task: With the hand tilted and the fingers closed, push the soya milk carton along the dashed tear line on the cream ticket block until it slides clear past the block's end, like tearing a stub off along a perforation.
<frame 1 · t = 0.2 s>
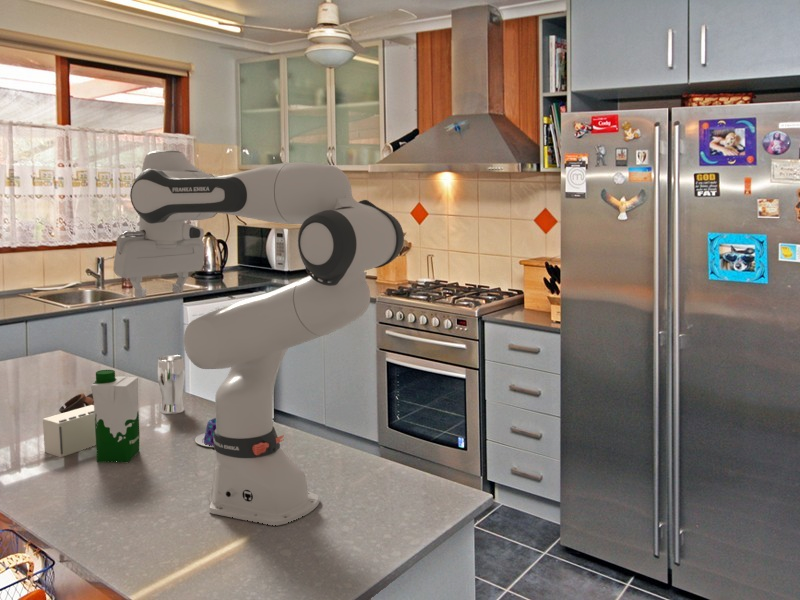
hand: (159, 294, 156), 39 cm above the counter, tool pointing down, fingers open, 8 cm apart
soya milk: (118, 457, 170), on the counter
ticket block: (77, 446, 176), on the counter
pudding: (220, 441, 182), on the counter
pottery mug: (85, 421, 195), on the counter
beer glass: (172, 411, 203), on the counter
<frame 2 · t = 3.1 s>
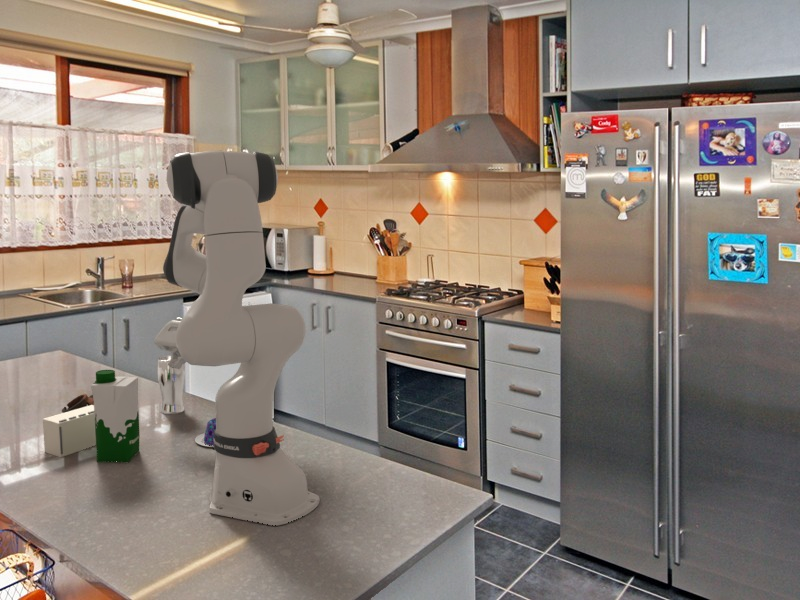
hand: (173, 367, 181), 18 cm above the counter, tool tilted 45°, fingers closed
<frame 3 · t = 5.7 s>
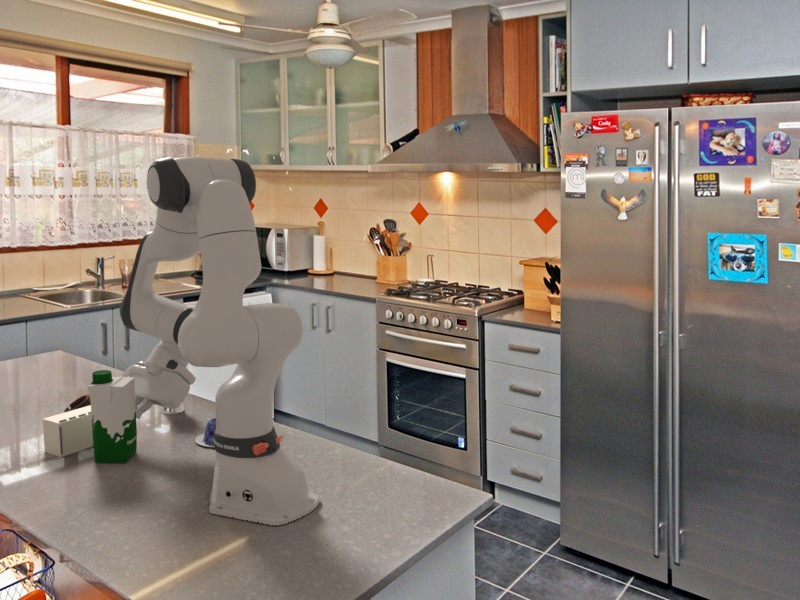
hand: (132, 416, 172), 8 cm above the counter, tool tilted 45°, fingers closed
soya milk: (116, 458, 169), on the counter, touching gripper
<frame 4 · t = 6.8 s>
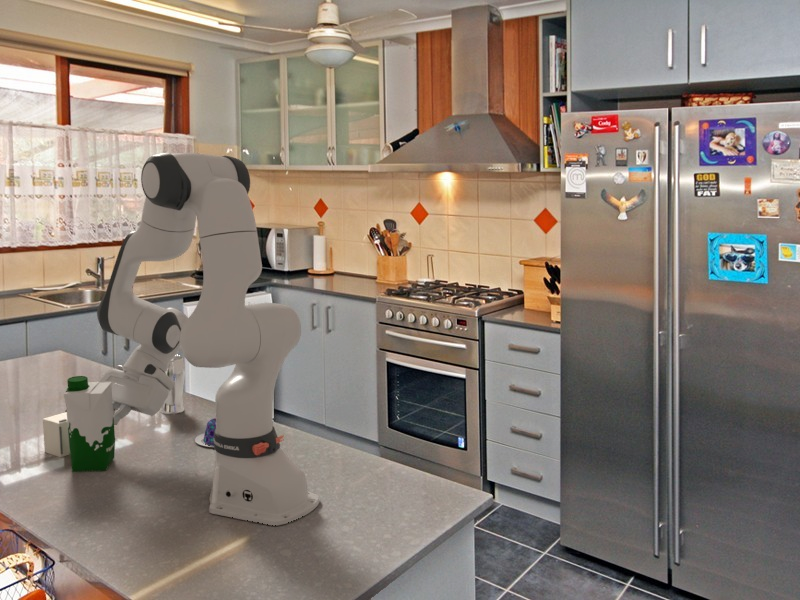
hand: (109, 422, 167), 9 cm above the counter, tool tilted 45°, fingers closed
soya milk: (94, 465, 165), on the counter, touching gripper
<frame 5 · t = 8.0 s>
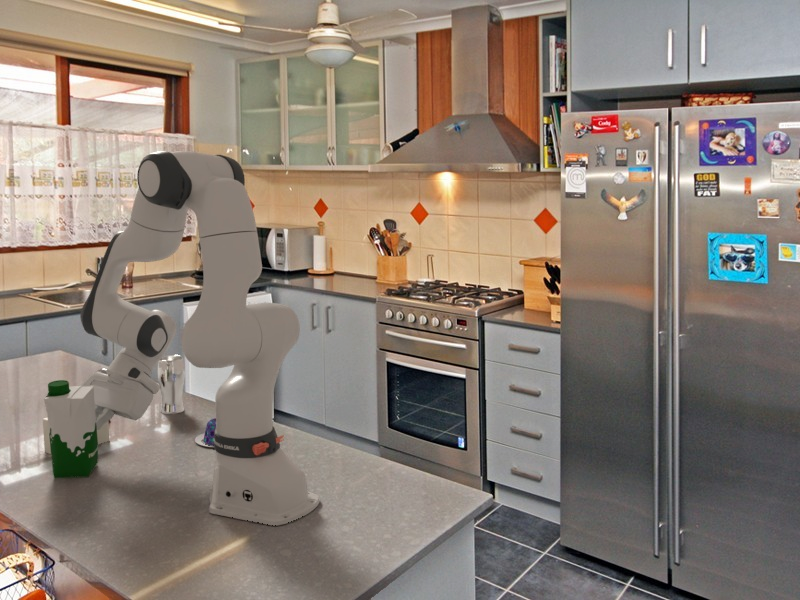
hand: (92, 427, 164), 9 cm above the counter, tool tilted 45°, fingers closed
soya milk: (76, 471, 161), on the counter, touching gripper
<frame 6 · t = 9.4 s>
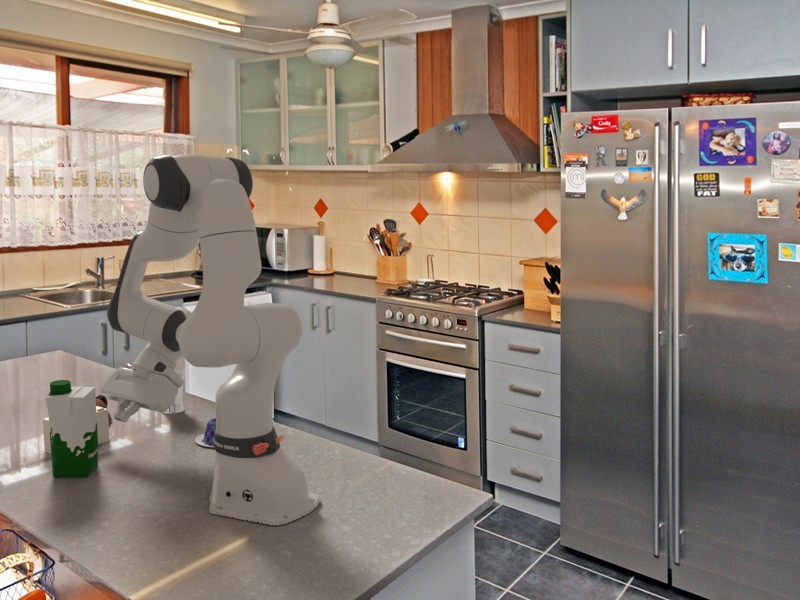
hand: (119, 420, 169), 9 cm above the counter, tool tilted 45°, fingers closed
soya milk: (76, 472, 161), on the counter
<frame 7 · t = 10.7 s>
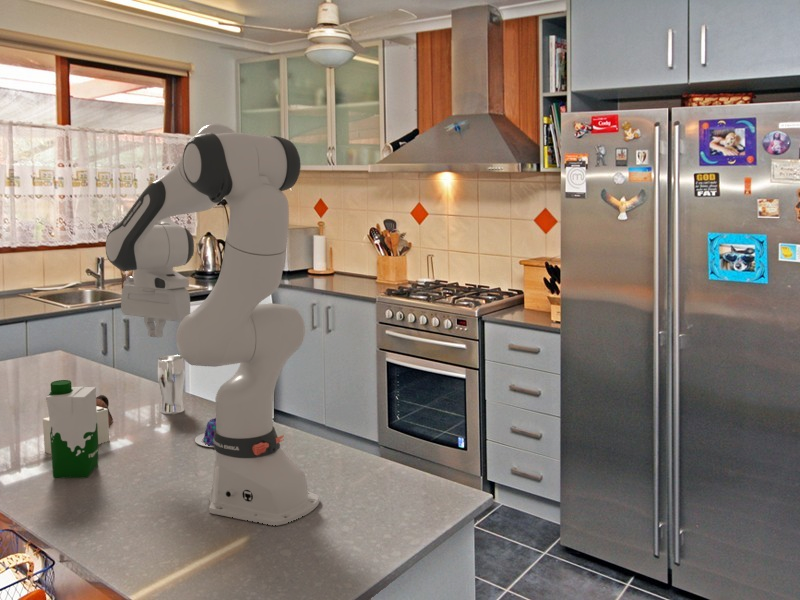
hand: (155, 336, 176), 26 cm above the counter, tool pointing down, fingers closed
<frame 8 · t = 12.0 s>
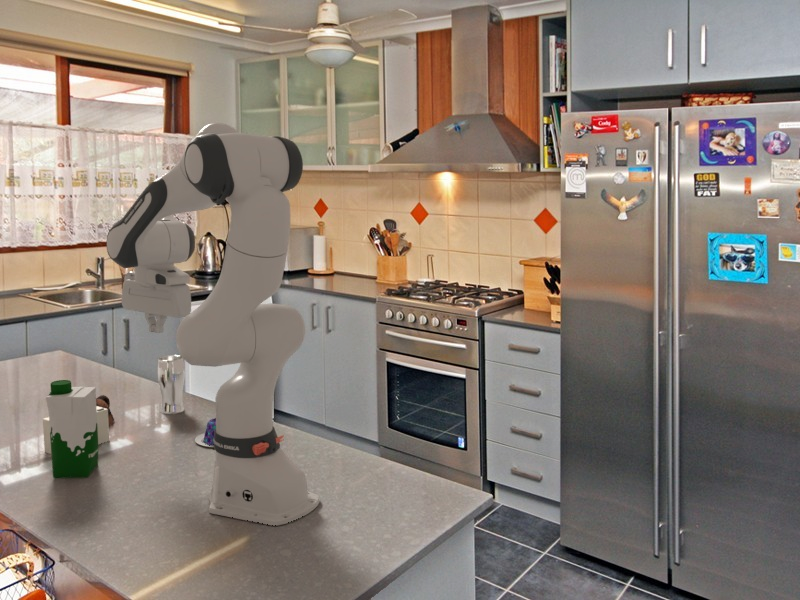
hand: (156, 332, 176), 27 cm above the counter, tool pointing down, fingers closed
at the end: soya milk inside the target area (3.1 cm from its centre), on the counter; soya milk tilted 0°; soya milk moved 10.7 cm from its start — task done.
